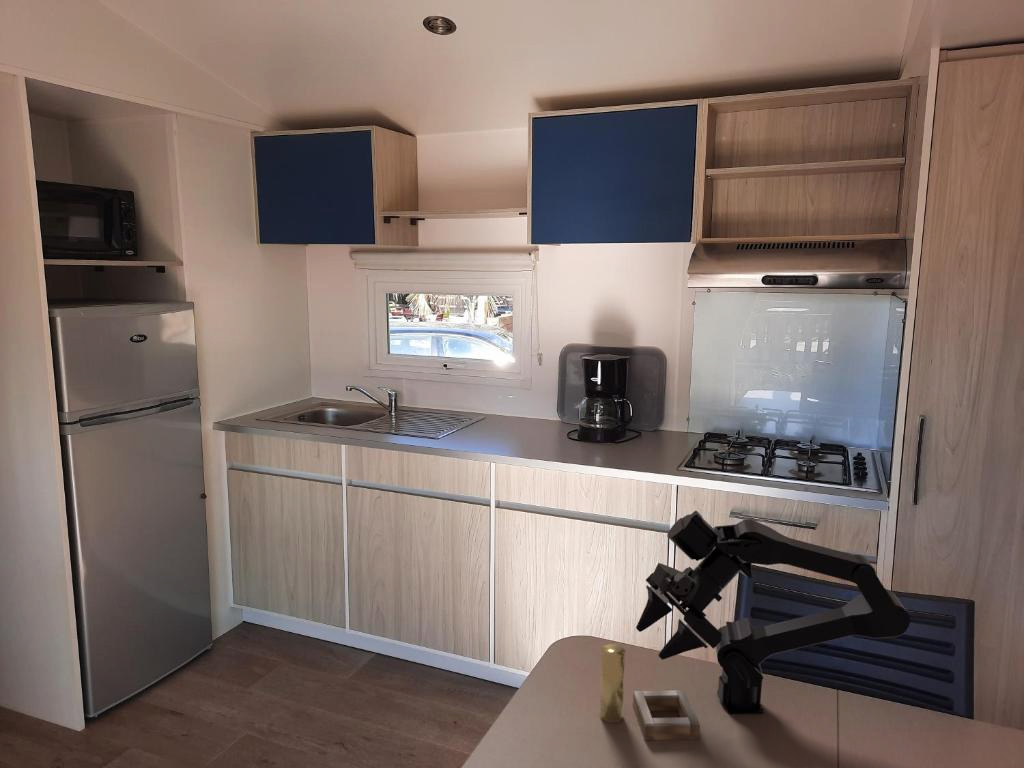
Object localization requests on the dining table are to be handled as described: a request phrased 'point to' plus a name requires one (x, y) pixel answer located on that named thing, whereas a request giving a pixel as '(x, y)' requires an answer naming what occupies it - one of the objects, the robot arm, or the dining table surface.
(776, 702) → the dining table surface
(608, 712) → the gold cylinder
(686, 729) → the shallow grey tray
